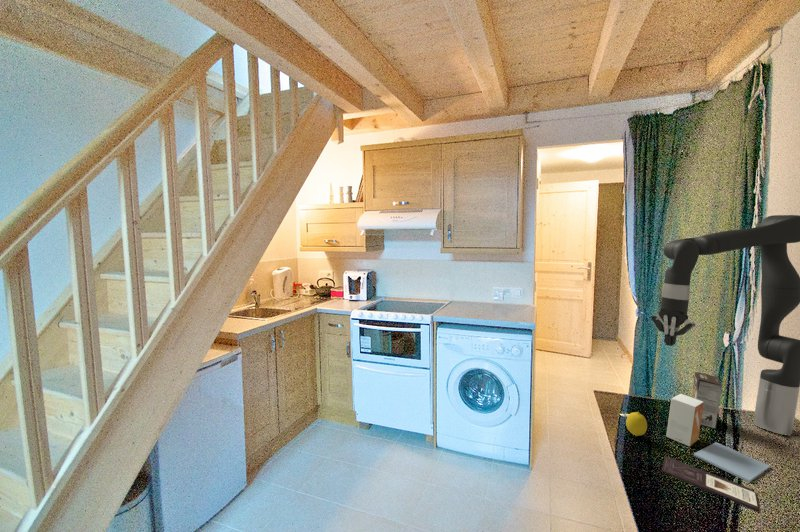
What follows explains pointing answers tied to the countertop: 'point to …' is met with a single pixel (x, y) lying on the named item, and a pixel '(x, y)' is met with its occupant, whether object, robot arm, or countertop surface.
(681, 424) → the small box
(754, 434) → the countertop surface
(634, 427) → the lemon
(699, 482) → the chocolate bar
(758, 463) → the flat blue-gray panel
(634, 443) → the countertop surface
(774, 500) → the countertop surface
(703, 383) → the coffee box
